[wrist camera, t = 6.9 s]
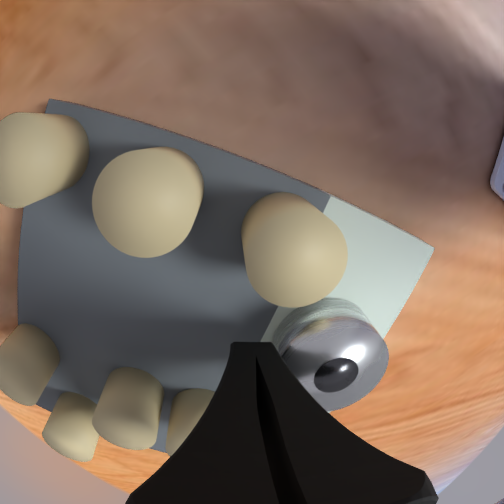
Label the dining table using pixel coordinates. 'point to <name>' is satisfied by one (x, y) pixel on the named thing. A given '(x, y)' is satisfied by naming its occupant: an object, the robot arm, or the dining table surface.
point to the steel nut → (332, 351)
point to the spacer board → (165, 271)
